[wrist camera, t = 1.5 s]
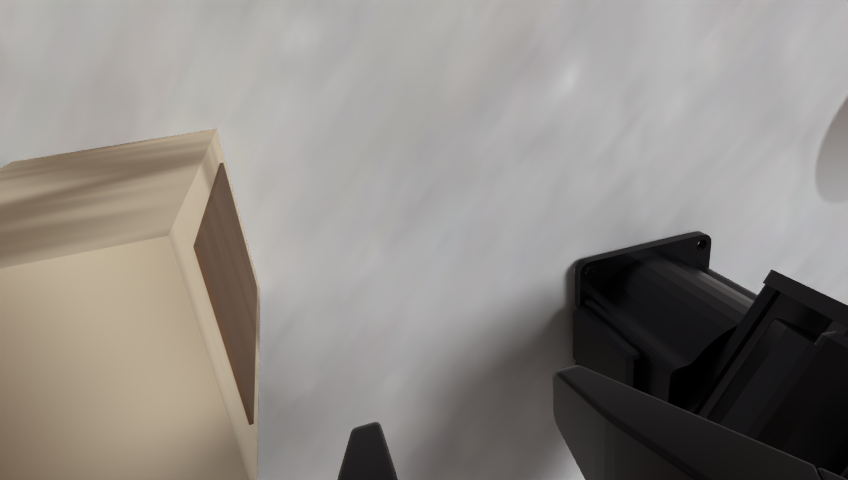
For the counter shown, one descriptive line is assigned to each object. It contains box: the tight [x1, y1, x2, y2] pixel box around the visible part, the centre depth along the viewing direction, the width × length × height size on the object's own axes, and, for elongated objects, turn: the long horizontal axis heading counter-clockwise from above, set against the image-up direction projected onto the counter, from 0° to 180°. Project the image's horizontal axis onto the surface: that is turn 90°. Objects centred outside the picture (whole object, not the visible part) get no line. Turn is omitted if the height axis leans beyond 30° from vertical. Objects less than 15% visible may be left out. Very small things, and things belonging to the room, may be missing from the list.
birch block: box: [0, 129, 260, 480], centre depth 14 cm, size 6×6×10 cm
